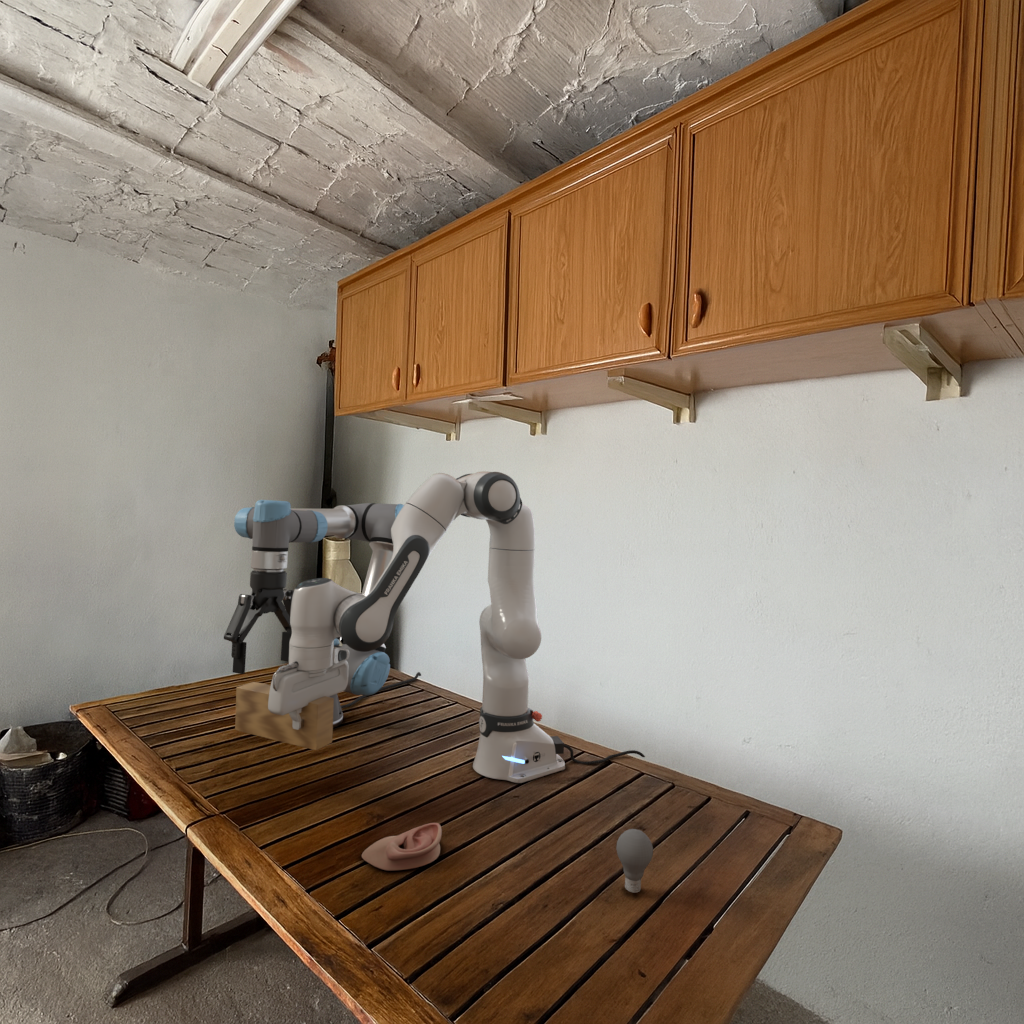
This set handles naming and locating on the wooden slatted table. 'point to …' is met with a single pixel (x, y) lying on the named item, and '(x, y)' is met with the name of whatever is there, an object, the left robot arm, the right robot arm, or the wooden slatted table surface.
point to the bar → (283, 718)
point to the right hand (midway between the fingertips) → (309, 723)
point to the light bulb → (634, 857)
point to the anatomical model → (406, 849)
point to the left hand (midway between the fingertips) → (263, 666)
